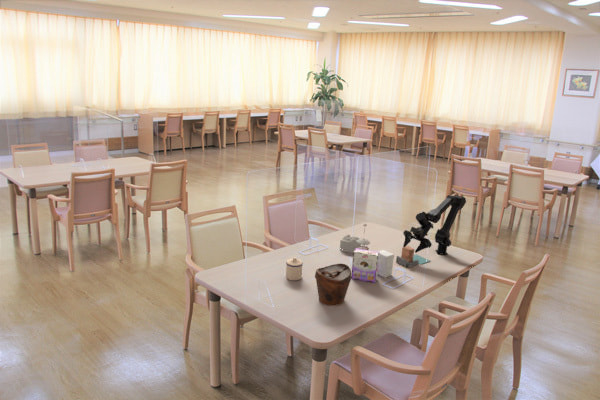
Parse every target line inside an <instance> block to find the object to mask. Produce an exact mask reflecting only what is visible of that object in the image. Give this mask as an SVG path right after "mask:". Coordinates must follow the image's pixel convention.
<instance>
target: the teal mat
mask: <svg viewBox="0 0 600 400" xmlns="http://www.w3.org/2000/svg"><path fill="white" fill-rule="evenodd" d="M426 259H427V262H426ZM415 260H419V262H418V265H420V266H421V265H423V264H427V263H431V259H428V258H426V257H424V256H421V255H418V254H414V256H413V261H415Z"/></svg>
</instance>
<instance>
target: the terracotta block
mask: <svg viewBox="0 0 600 400" xmlns="http://www.w3.org/2000/svg"><path fill="white" fill-rule="evenodd" d="M414 255H415V248H414V247H412V246H409V245H407V246H406V247H403V246H402V250H401V256H400V257H401V258H403V259H405V260H407V261H409V262H412V261H413V256H414Z"/></svg>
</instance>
